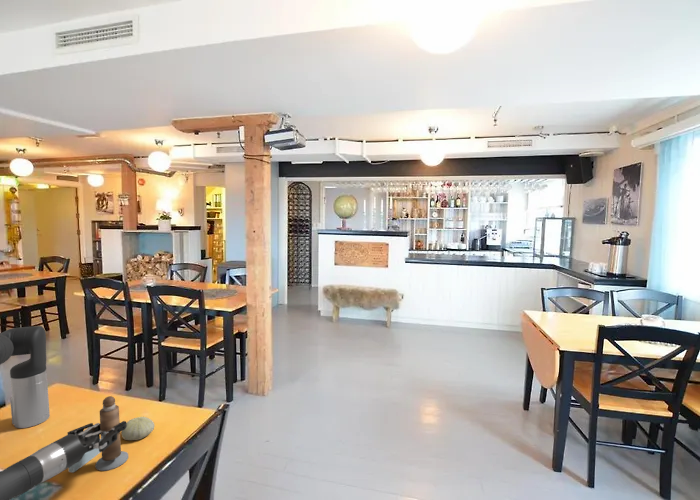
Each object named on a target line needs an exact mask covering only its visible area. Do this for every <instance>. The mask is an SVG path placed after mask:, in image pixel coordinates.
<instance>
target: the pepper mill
mask: <svg viewBox="0 0 700 500" xmlns="http://www.w3.org/2000/svg"><path fill="white" fill-rule="evenodd" d="M119 423H121V422H120V407H119V405H116V399H115V397H114V396H112V395H111V396H109V395H108V396H106V397H105V398H103V400H102V407H101V409H100V410H99V424H100V430H107V429H110V428H113V427H114V426H116V425H117V424H119ZM108 434H110V432H109V433H107V434H106V436H107V435H108ZM121 447H122V445H121V432H119V433H118V434H117V440H116V441H115V442H114V443H112V444H111V445H110V446H109V447H108V448H106V449H105V450H104V451H102V452H101V457H102V460H104V461H110V460H113V459H115V458H117V457H119V456H120V454H121V451H122V448H121Z"/></svg>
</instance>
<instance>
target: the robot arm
mask: <svg viewBox="0 0 700 500" xmlns="http://www.w3.org/2000/svg"><path fill="white" fill-rule="evenodd" d="M23 355H24V356H25V355H26V356H27V355H30V356H29V357H30V358H29V359H27V360H25V361H22V362H20V363H17V364H15V365H13V366H12V367H11V368H10V371H9V377H10V388H11V396H10V399H9V400H10V413H11V414H10V415H11V424H12V425H13V427H14V428H16V429H26V428H31V427H34V426H38V425H40V424H41V423H44V422H46V421H47V420H49V418H50V416H51V415H50V401H49V389H48V386H49V385H48V375H47V335H46V329H45V328H44V327H43V326H41V325H35V326H34V325H33V326H23V327H21V326H20V327H12V328H10V329H7V330H5V331H3V332H0V365H3V364H4V363H6V362H7V361H8V360H9V359H10V358H11V357H15V356H23ZM126 423H127V421H125V420H123V421H121V422H120V423H119V424H117V425H116V426H114V427H113V428H110V429H107V430H100V422H99V423H98V422H97V423H95V424H94V423H93V422H90V423H88V424H84V425H83V426H79V427H78V428H74V429H72V430H70V431H68V432H67V434H66V435H64V436H63V437H61V438H59V439H57V440H55V441H53V442H51V443H49V444H47V445H45V446H43V447H41V448H39V449H38V450H36V451H34V452H33V453H32V454H30V455H28V456H26V457H24V458H22V459H20V460H19V461H17V462H15V463H13V464H11V465H10V466H8V467H6V468H5V469H3V470H1V471H0V500H12V499H15V498H17V497H19V496H22V495H23V494H25V493H27V492H29V491H30V490H32V489H33V488H35V487H36V486H38V485H40V484H42V483H44V482H46V481H48V480H50V479H52V478H53V477H55V476H57V475H59V474H60V473H62V472H64V471H65V470H67V469H68V468H69V467H71V466H72V465H74V464H76V463H77V462H79V461H80V460H81V459H82V457H83V456H84V454H85V453H86V452H89V451H91V450H93V449H99V452H100V453H102V451H104V450H105V449H106V448H108V447H109V446H110V445H111V444H112V443H114V442H115V441H116V440H117V434H118V433H119V432H120V433H121V432H122V431H123V430H124V429H126V427H127V425H126ZM109 432H110V434H108V435H107V436H106V434H107V433H109ZM100 439H101V440H100Z"/></svg>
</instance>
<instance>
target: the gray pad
mask: <svg viewBox="0 0 700 500" xmlns="http://www.w3.org/2000/svg"><path fill="white" fill-rule="evenodd" d="M128 459H129V452H127V451H124V450H121V454H120V456H119V457H117V458H115V459H113V460H110V461H104V460H102V456H101V457H100V458H99V459H98V460H97V461H96V462H95V469H96V470H98V471H100V472H101V471H102V472H107V471H112V470H115V469H117V468H118V467H119V468H120V466H122V465H124V464H125V463H126V462H128Z"/></svg>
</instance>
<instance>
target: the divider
mask: <svg viewBox="0 0 700 500" xmlns="http://www.w3.org/2000/svg"><path fill="white" fill-rule="evenodd" d="M100 440H101V438H100ZM100 453H101V452H99V449H93V450H91V451H89V452H86V453H85V454H84V456H83V457H82V459H81V460H80V461H79V462H77V463H76V464H74V465H72V466H71V467H69V468H67V469H68V473H72V474H74V473H76V472H77V471H78V470H79V469H80V468H82V467H84V466H85V465H86V464H87V463H89V462H90V461H91V460H92V459H94V458H96V457H97V456H98V455H99V454H100Z"/></svg>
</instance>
